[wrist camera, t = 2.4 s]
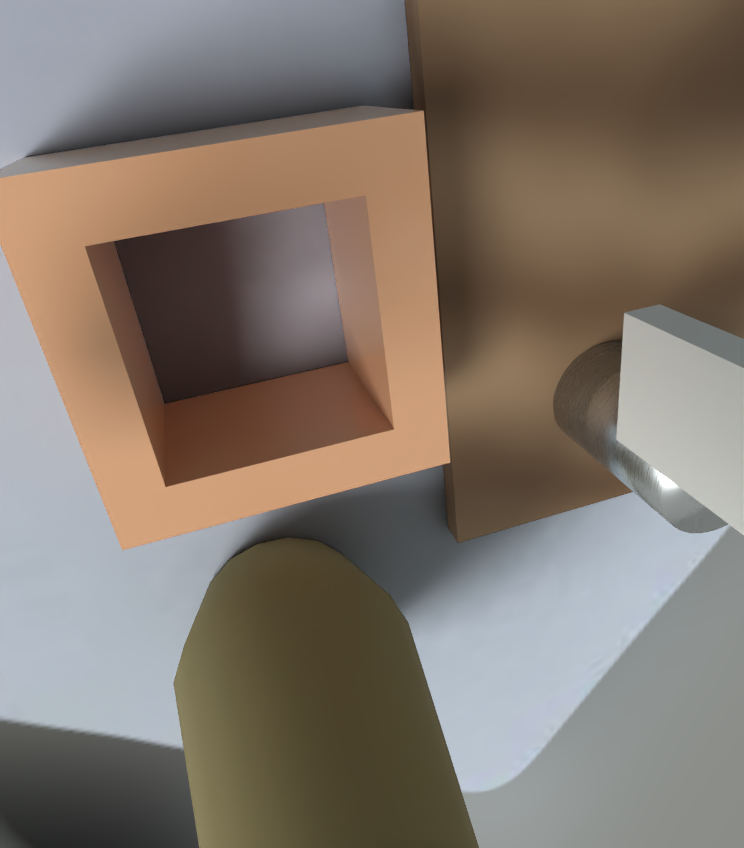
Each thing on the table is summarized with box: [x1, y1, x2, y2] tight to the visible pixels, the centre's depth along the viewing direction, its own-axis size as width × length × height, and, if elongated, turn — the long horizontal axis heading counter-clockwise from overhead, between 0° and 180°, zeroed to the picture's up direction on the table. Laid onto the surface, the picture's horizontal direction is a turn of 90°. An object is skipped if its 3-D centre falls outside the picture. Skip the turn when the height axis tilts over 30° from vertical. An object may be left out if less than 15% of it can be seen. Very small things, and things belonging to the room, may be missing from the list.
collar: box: [0, 105, 450, 550], centre depth 17 cm, size 9×9×5 cm
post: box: [553, 340, 728, 533], centre depth 21 cm, size 4×4×6 cm
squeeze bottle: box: [174, 537, 479, 848], centre depth 18 cm, size 8×8×18 cm
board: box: [405, 0, 744, 543], centre depth 22 cm, size 18×12×1 cm, turn 7°
